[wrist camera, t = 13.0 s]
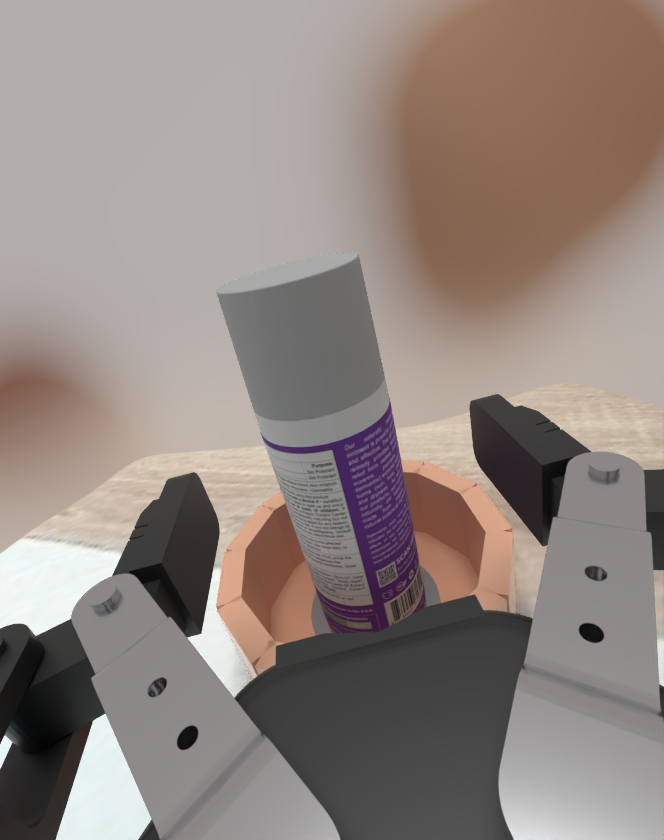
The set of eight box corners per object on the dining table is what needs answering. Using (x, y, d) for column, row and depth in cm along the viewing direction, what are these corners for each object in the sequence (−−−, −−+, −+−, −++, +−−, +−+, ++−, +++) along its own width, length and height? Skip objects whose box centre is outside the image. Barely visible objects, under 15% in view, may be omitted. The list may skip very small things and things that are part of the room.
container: (404, 552, 22) (342, 247, 15) (445, 629, 18) (384, 255, 11) (317, 583, 22) (213, 282, 15) (338, 669, 17) (208, 303, 11)
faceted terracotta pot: (452, 504, 26) (444, 438, 24) (581, 713, 15) (586, 627, 13) (258, 555, 26) (233, 494, 23) (245, 803, 15) (197, 731, 13)
